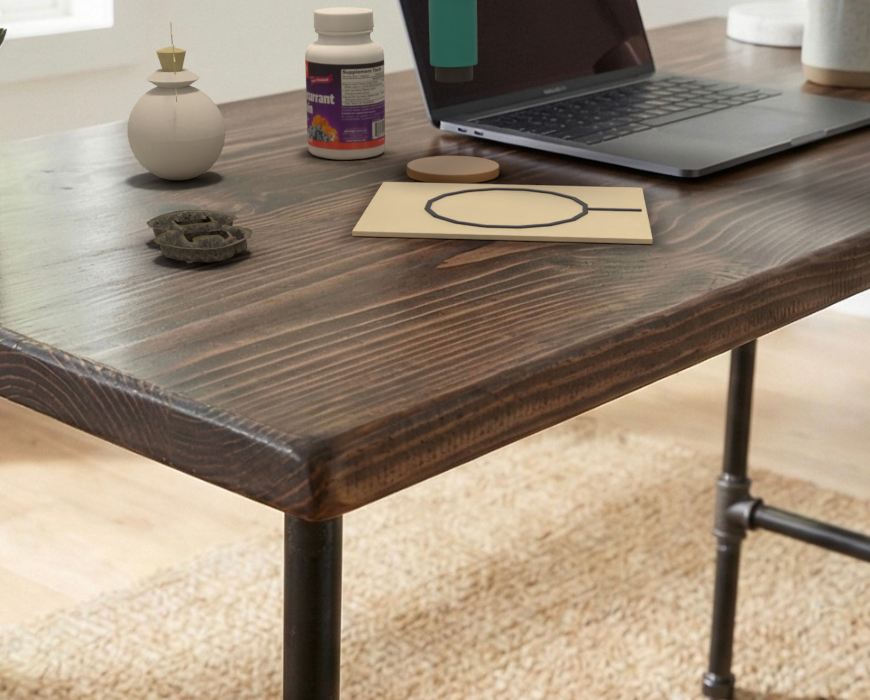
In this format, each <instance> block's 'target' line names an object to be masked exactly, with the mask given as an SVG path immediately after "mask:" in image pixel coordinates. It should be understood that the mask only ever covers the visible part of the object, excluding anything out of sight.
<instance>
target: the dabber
mask: <svg viewBox="0 0 870 700" xmlns="http://www.w3.org/2000/svg"><path fill="white" fill-rule="evenodd" d="M428 32H429V64H430V66H431V67H434V80H435V82H438V83H444V84H449V83H450V84H459V83H461V84H462V83H468V82H471V81H473V80H474V66H476V65H478V0H428Z"/></svg>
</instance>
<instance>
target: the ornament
mask: <svg viewBox="0 0 870 700" xmlns="http://www.w3.org/2000/svg"><path fill="white" fill-rule="evenodd" d="M169 24H170V38H171V46H168V47H164V48H161V49H157V50H155V51H156V55H157V58H158V61H159V64H160V67H161V68H159V69H156V70H155V71H154V72H153V73H151V74H150V75H149V76H148V77H146V79H145V80H146V81H148V82H149V83H151V84H153V85H154V86H155V87H153V88H151V89H149V90H148V91H147V92H145V93H143V95H142V96H141V97H139V99H138V100H137V101H136V103H135V104H134V106H133V107H132V109H131V111H130V114H129V117H128V121H127V139H128V143H129V147H130V149H131V152H132V153H133V156H134V157H135V159H136V160H137V162H139V164H140V165H141V166H142V167H143V168H144V169H145V170H147V171H148V172H149V173H150V174H153V175H155V176H156V177H159V178H161V179H164V180H168V181H169V180H170V181H186V180H187V181H188V180H191V179H194V178H197V177H199V176H202V174H204V173H206V172H207V171H208V170H210V169H211V168H212V167H213V166H214V165H215V164H216V162H217V161H218V159H219V158H220V156H221V154H222V152H223V149H224V145H225V141H226V127H225V120H224V117H223V115H222V113H221V111H220V109H219V106H217V104H216V103H215V101H213V99H212V98H211V97H210V96H209V95H207V94H206V93H205V92H204V91H202V90H201V89H199V88H197V87H194V86H192V84H194V83H195V82H196V81H198V80H199V79H200V78H201V77H200V76H198V75H197V74H196V73H194V72H192V71H191V70H189V69H188V68H184V63H185V58H186V53H187V50H186V49H182V48H179V47H175V45H174V43H173V42H174V41H173V29H172V22H171V21H170V23H169Z"/></svg>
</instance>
